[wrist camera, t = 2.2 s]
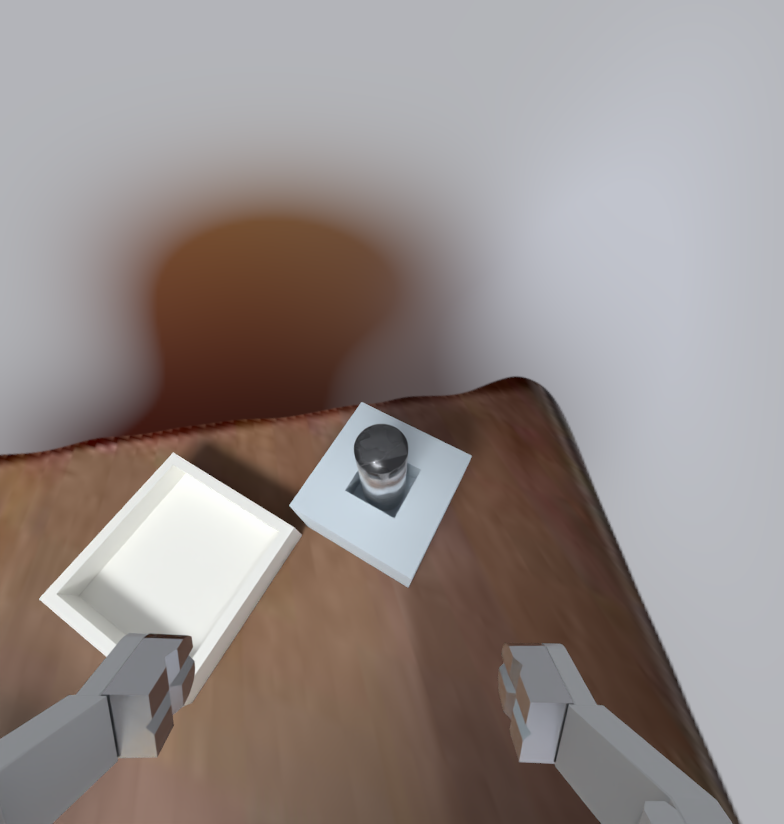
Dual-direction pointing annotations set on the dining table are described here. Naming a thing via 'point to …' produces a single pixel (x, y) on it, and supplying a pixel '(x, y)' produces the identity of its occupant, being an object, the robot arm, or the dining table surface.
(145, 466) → the dining table surface
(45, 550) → the dining table surface
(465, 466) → the socket block
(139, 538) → the tray
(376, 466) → the steel pin
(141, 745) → the robot arm
